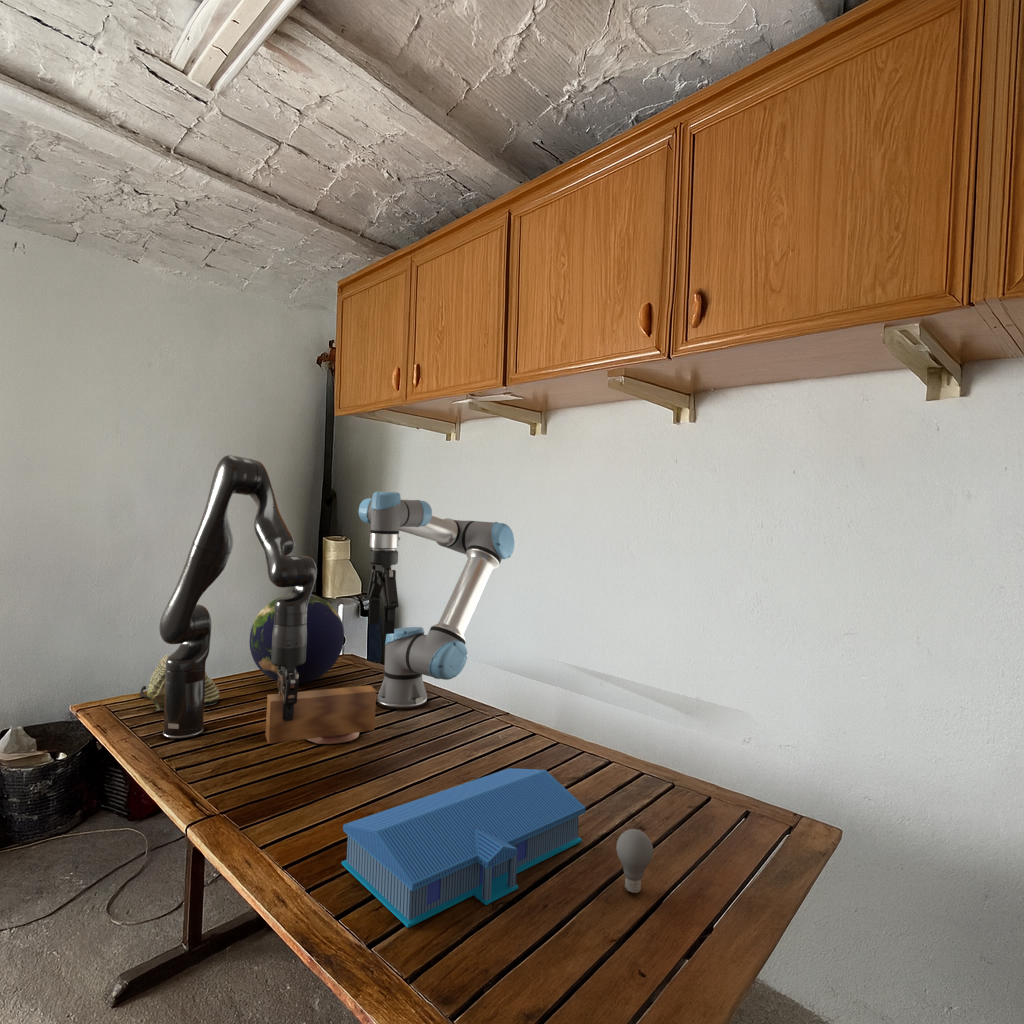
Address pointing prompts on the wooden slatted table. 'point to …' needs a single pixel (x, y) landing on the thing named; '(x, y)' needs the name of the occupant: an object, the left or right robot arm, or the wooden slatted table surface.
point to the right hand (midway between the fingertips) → (380, 628)
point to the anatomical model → (335, 738)
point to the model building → (462, 842)
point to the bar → (322, 714)
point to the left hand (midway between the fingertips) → (285, 715)
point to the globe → (321, 640)
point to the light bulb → (634, 857)
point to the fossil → (158, 687)
